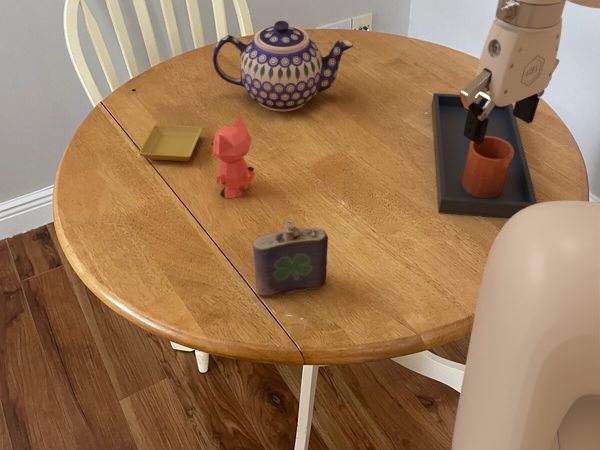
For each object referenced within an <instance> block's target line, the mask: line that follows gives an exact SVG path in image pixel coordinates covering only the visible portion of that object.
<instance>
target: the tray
mask: <svg viewBox="0 0 600 450" xmlns="http://www.w3.org/2000/svg"><path fill="white" fill-rule="evenodd" d="M486 103H487V100H486V99H484V98H482V99H481V101H480V102H479V103H478V105H479V107H480V108H481V109H482V108H483V107H484V105H485V104H486ZM513 110H514V105H513V103H512V104H509V105H506V106H503V107H499V106H496V104H495V106H494V107H493V109H492V110H491V111H490V113H489V114H488V115H487V117H486V118H488V119H489V122H488V126H487V130H486V134H485V136H495V137H498V138H501V139H504V140H505V141H507V142H509V143H510V144H511V145H512V147H513V148H514V155H513V158H512V161H511V165H510V168H509V171H508V175H507V178H506V181H505V185H504V188H503V190H502V192H501V193H500V194H499V195H498V196H496V197H493V198H479V197H476V196H473V195H471V194H469V193H468V192H466V191H465V190H464V189H463V187H462V184H461V181H462V175H463V171H464V167H465V162H466V158H467V154H468V149H469V145H470V143H471V140H470V139H468V138H467V137H465V136H464V128H465V124H466V119H467V114H468V112H466V111H465V109H464V108H463V107H462V100H461V97H460V94H454V93H440V92H439V93H435V92H433V94H432V99H431V116H432V118H431V120H432V134H433V148H434V161H435V162H434V164H435V166H434V167H435V179H436V181H435V182H436V195H437V210H438V214H449V215H463V216H475V217H487V218H501V219H510V218H511V217H512V216H513V215H515V214H516V213H517V212H519V211H520V210H522V209H524V208H526V207H529V206H531V205H534V204H537V203H538V200H537V195H536V192H535V188H534V183H533V181H532V175H531V173H530V167H529V164H528V160H527V156H526V153H525V149H524V144H523V140H522V137H521V133H520V132H521V131H520V129H519V124H518V120H517V117H516V116H514V115H513Z"/></svg>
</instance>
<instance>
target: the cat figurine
mask: <svg viewBox="0 0 600 450" xmlns="http://www.w3.org/2000/svg"><path fill="white" fill-rule="evenodd" d="M252 140H253V139H252V136H251V135H250V134H249V132H248V129H247V127H246V124H245V121H244V119H243V116H242V114H241V113H239V115H238V117H237V119H236V120H235V122H234V124H233V125H226V126H223V127H221V128H220V129H218V130H216V132H215V136H214V138H213V141H212V142H211V146H212V147H211V148H210V149H208V151H207V153H206V155H208V154H209V156H208V158H207V160H209V159H210V156H211V153H213V154H214V155H215V157H216V158H217V159H218V160H220V164H219V169H218V174H217V177H216V182H217V184H220V185H223V186H225V187H224V188H223V189H222V190H221V191H220V194H219V196H220V197H222V198H224V199H237V198H240V197H243V192H242V191H241V190H247V189H249V186H248V183H251V182H252V181H253V179H254V178H255V176H256V173H255V167H252V166H248V164H247V162H246V160H245V159H244V157H245V156H247V154H248V153H249V151H250V148H251V144H252Z"/></svg>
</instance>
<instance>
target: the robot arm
mask: <svg viewBox="0 0 600 450" xmlns="http://www.w3.org/2000/svg"><path fill="white" fill-rule="evenodd" d="M567 1H568V2H569V3H572V4H575V5H578V6H581V7H587V8H592V9H600V0H498V2H497V6H496V11H495V14H494V20H493V21H492V23H491V26H490V28H489V31H488V33H487V36H486V39H485V42H484V45H483V48H482V51H481V54H480V58H479V61H478V65H477V68H476V72H475V78H473V80H471V81H470V82H469V83H468V84H467V85H465V87H464V88H463V89H461V90H460V93H459V95H460V97H461V100H462V107H463V108H464V109H465V111H466V112H468V114H467V119H466V124H465V128H464V136H465V137H467V138H468V139H470V140H471V141H473V142H475V143H476V144H478V145H480V144H483V142H484V138H485V134H486V130H487V126H488V122H489V119H488V118H486V117H487V115H488V114H489V113H490V111H491V110H492V109H493V107H494V106H495V104H496V106H499V107H503V106H506V105H509V104H512V105H513V104H514V105H513V109H514V110H513V115H514V116H515V117H516V119H517V118H518V119H519V120H521V121H523V123H526V124H531V123H533V122H534V118H535V116H536V112H537V108H538V105H539V102H540V98H541V97H542V96H543V95H544V94H545V90H546V89H547V88H548V87H549V84H550V82H551V81H552V78H553V77H552V76H553V74H554V72H555V70H556V69H557V67H558V65H559V63H560V59H559V58H557V56H558V51H559V48H560V47H559V46H560V44H561V43H560V42H561V36H562V29H563V18H562V15H563V12H564V10H565V6H566V3H567ZM488 92H489V93H488ZM482 98H484V99H486V100H487V103H486V104H485V105H484V107H483V108H482V109H481V108H480V107H479V105H478V103H479V102H480V101H481V99H482ZM477 294H478V295H477V300H476V301H477V302H476V307H475V312H474V317H473V318H474V319H473V323H472V328H471V334H470V340H469V345H468V351H467V356H466V361H465V367H464V370H463V371H464V372H463V377H462V381H461V382H462V383H461V388H460V394H459V399H458V405H457V409H456V415H455V421H454V427H453V433H452V442H451V450H600V201H591V200H590V201H589V200H566V199H565V200H549V201H543V202H537V204H534V205H531V206H529V207H526V208H524V209H522V210H520V211H519V212H517V213H516V214H515V215H513V216H512V217H511V218H508V220H507V221H506V222H505V223H504V225H503V226H502V227H501V229H500V230H499V232H498V234H497V235H496V237H495V238H494V241H493V243H492V244H491V247H490V250H489V252H488V255H487V258H486V261H485V264H484V267H483V273H482V277H481V281H480V286H479V290H478V293H477Z"/></svg>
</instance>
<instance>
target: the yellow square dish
mask: <svg viewBox="0 0 600 450" xmlns="http://www.w3.org/2000/svg"><path fill="white" fill-rule="evenodd" d="M203 130H204V128H203V127H202V126H197V125H179V124H178V125H177V124H164V123H156V124H154V125H153V126H152V128H151V130H150V132H149V133H148V135H147V136H146V139H145V140H144V143H143V144H142V146H141V148H140V150H139V151H138V154H139V155H140V156H142V157H144V158H146V159H149V160H153V161H154V160H155V161H156V160H157V161H173V162H174V161H175V162H187V161H189V160H190V159H191V157H192V155H193V152H194V150H195V148H196V146H197V144H198V141H199V138H200V136H201V134H202V132H203Z"/></svg>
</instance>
